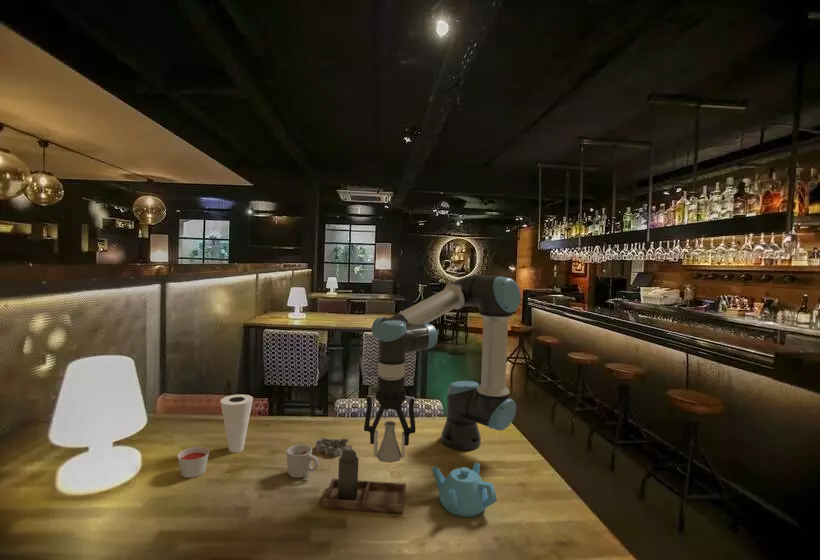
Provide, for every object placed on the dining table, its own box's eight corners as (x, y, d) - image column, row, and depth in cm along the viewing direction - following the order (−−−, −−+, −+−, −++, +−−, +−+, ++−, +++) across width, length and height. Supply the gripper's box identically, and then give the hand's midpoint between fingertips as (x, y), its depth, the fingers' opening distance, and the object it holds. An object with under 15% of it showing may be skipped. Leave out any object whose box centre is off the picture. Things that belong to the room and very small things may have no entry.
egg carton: (349, 450, 159) (349, 439, 158) (337, 458, 152) (338, 447, 152) (324, 443, 163) (325, 432, 163) (312, 451, 156) (312, 440, 156)
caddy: (405, 491, 133) (405, 483, 133) (402, 514, 121) (403, 505, 121) (332, 486, 134) (332, 478, 134) (322, 508, 122) (323, 500, 122)
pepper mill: (358, 491, 130) (360, 442, 129) (355, 502, 125) (357, 451, 124) (340, 490, 131) (341, 441, 130) (335, 500, 125) (337, 449, 124)
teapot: (445, 524, 118) (447, 485, 117) (429, 493, 132) (431, 458, 131) (498, 518, 121) (500, 480, 120) (477, 488, 136) (479, 455, 135)
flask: (375, 451, 128) (376, 418, 127) (400, 451, 129) (401, 417, 128) (376, 463, 121) (377, 428, 120) (402, 463, 122) (404, 428, 121)
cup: (323, 472, 142) (324, 448, 141) (310, 484, 134) (311, 459, 134) (295, 466, 145) (295, 442, 145) (280, 477, 138) (281, 452, 137)
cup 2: (212, 452, 152) (213, 401, 151) (235, 440, 162) (236, 392, 161) (236, 459, 148) (237, 406, 147) (258, 446, 158) (259, 397, 157)
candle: (215, 469, 141) (215, 450, 140) (190, 483, 132) (191, 462, 132) (195, 463, 144) (195, 444, 144) (170, 475, 136) (170, 455, 136)
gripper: (427, 373, 126) (424, 450, 128) (357, 371, 127) (356, 447, 129) (427, 381, 119) (424, 463, 121) (353, 378, 120) (351, 460, 121)
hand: (389, 455), depth 125 cm, fingers closed on flask, 7 cm apart
